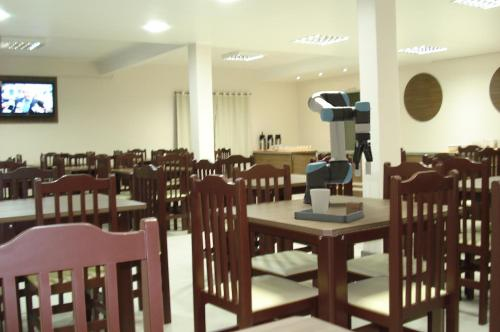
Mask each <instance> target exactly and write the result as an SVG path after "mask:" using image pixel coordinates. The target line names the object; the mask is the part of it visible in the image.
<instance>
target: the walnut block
mask: <svg viewBox="0 0 500 332" xmlns="http://www.w3.org/2000/svg"><path fill="white" fill-rule="evenodd" d="M345 207H346V208H345V210H346V211H345V213H346V214H345V215H348V214H351V213H354V212H358V211H363V212H364V202H363V201H348V202H346V205H345Z"/></svg>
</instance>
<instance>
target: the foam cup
mask: <svg viewBox="0 0 500 332" xmlns="http://www.w3.org/2000/svg"><path fill="white" fill-rule="evenodd" d="M310 195H311V201H312V204H311V205H312V206H311V208H313V213H318V214H329V213H328V212H329V204H330V202H329V199H330V196H331V189H329V188H326V189H311V190H310Z"/></svg>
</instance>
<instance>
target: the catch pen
mask: <svg viewBox="0 0 500 332" xmlns="http://www.w3.org/2000/svg"><path fill="white" fill-rule="evenodd" d="M293 215H294V216H293V217H294V219H297V220H298V219H299V220H309V221H320V222H321V221H323V222H334V223H344V224H346V223H349V222H352V221H355V220H359V219H362V218H364V210H363V211H358V212H354V213H351V214H348V215H346V214H345V215H343V214H342V215H341V214H329V213H327V214H318V213H313V208H312V207H310V208H305V209H301V210H298V211H294V214H293Z"/></svg>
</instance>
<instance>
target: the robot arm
mask: <svg viewBox="0 0 500 332" xmlns="http://www.w3.org/2000/svg"><path fill="white" fill-rule="evenodd" d="M350 104H351V103H350V98H349V95H348V94H347V93H346V92H345V91H318V92H315V93H313V94H311V96H310V97H309V98H308V101H307V106H308V108H309V110H310V111H312V112H314V113H318V114H319V115H320V119H321V122H327V123H329V138H330V139H329V142H330V159H329V160H328V163H327V162H326V161H317V162H311V163H308V164H307V165H306V166H305V180H306V181H305V186H306V187H305V192H304V195H303V203H304V204H311V205H312V201H311V195H310V190H311V189H327V185H334V184H335V185H337V184H338V185H339V184H341V185H343V184H348V183H350V182H351V180H352V177H353V171H354V177H362V175H361V174H362V173H361V171H362V169H361V168H362V165H361V159H362V156H363V155H364V159H365V164H364V166H365V176H366V175H367V176H368V175H369V176H370V175H372V162H374V157H373V152H372V146H371V145H372V143H371V142H370V141H371V138H372V137H371V133H370V132H371V109H372V108H371V103H370V101H356V102H355V103H354V106H350ZM345 122H354V128H355V134H354V135H355V136H354V139H355V141H357V142H354V151H353V156H352V163H353V164H354V168H353V164H352V163H351V162H350V161H349V159H348V158H347V155H346V133H345V132H346V130H345ZM330 200H331V199H330V198H329V203H330Z"/></svg>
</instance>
